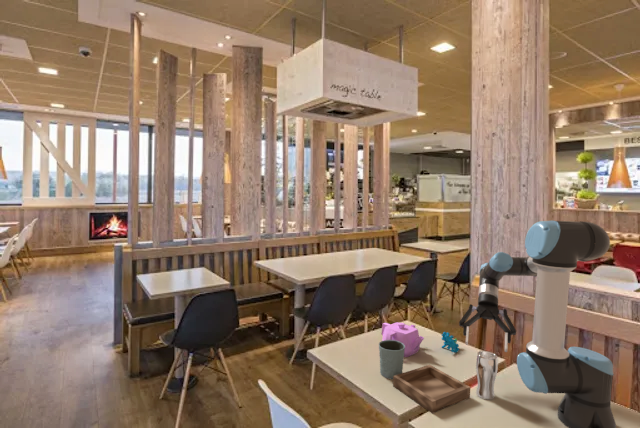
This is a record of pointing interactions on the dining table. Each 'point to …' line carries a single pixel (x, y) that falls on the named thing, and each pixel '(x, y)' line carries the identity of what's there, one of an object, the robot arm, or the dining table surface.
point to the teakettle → (403, 336)
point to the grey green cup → (391, 358)
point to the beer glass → (486, 374)
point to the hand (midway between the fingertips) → (485, 347)
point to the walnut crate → (431, 388)
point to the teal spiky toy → (450, 342)
